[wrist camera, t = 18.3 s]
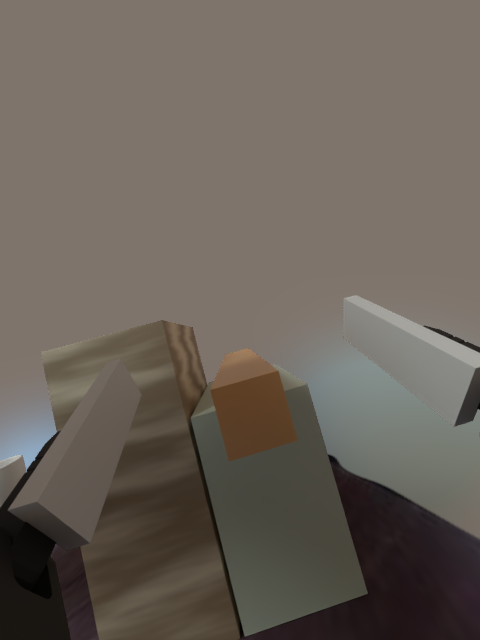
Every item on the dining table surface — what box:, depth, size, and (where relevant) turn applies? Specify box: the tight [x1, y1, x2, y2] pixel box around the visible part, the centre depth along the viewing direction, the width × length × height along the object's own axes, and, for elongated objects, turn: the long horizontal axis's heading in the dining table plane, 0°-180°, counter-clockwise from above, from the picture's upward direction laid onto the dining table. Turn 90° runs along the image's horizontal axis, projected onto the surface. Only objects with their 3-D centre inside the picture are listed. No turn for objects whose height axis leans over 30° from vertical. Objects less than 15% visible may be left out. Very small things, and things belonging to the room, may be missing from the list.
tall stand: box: [41, 320, 240, 640], centre depth 28 cm, size 16×12×30 cm
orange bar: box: [211, 348, 298, 462], centre depth 24 cm, size 24×4×4 cm, turn 2°
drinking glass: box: [0, 455, 26, 507], centre depth 39 cm, size 7×7×15 cm
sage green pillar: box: [191, 364, 368, 637], centre depth 28 cm, size 16×12×20 cm
